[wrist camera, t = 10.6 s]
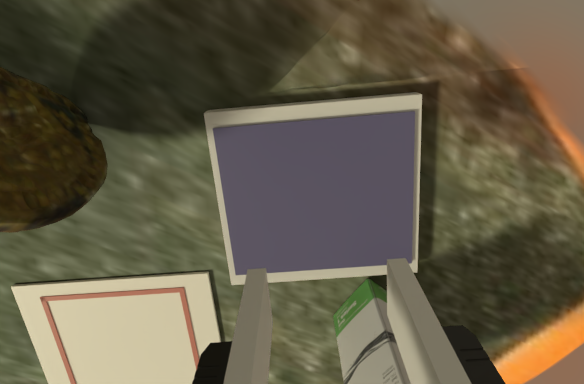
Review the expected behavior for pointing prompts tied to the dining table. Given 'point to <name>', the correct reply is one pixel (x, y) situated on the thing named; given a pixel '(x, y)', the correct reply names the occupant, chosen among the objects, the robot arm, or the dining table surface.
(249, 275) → the robot arm
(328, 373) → the dining table surface
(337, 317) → the ink box
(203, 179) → the dining table surface
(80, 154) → the brown mottled tapered part
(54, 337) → the paper
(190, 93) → the dining table surface
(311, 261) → the ink pad
